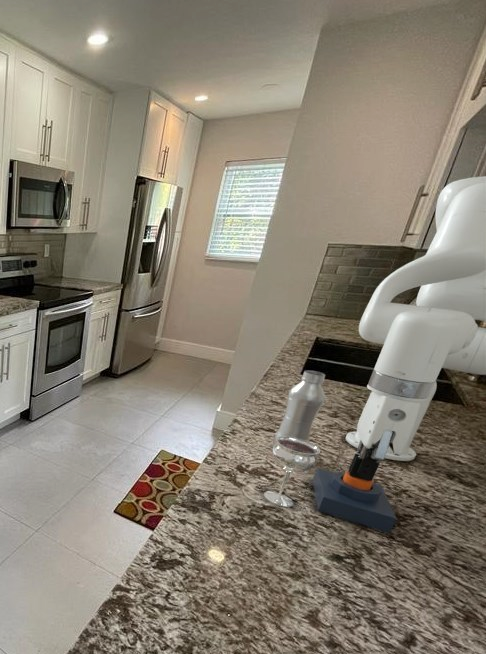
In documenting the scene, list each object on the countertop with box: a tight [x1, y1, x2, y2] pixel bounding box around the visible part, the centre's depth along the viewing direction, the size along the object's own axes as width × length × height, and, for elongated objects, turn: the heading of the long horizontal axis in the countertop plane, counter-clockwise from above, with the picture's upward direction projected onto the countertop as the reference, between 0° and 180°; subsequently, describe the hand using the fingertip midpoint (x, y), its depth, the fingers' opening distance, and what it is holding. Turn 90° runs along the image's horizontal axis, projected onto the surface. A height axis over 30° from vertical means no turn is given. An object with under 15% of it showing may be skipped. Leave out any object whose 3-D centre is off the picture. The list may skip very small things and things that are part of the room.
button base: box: [312, 467, 397, 534], centre depth 78 cm, size 12×10×5 cm
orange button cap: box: [343, 470, 375, 490], centre depth 77 cm, size 4×4×2 cm
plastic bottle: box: [272, 369, 326, 446], centre depth 93 cm, size 6×7×20 cm
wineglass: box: [263, 436, 321, 507], centre depth 77 cm, size 7×7×12 cm
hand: (359, 476), depth 76 cm, fingers closed
